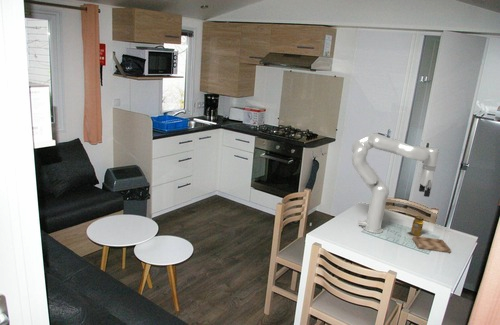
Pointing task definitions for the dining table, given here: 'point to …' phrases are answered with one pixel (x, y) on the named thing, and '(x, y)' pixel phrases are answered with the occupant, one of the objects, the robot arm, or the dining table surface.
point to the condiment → (417, 226)
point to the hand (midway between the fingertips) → (423, 193)
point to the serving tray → (431, 244)
